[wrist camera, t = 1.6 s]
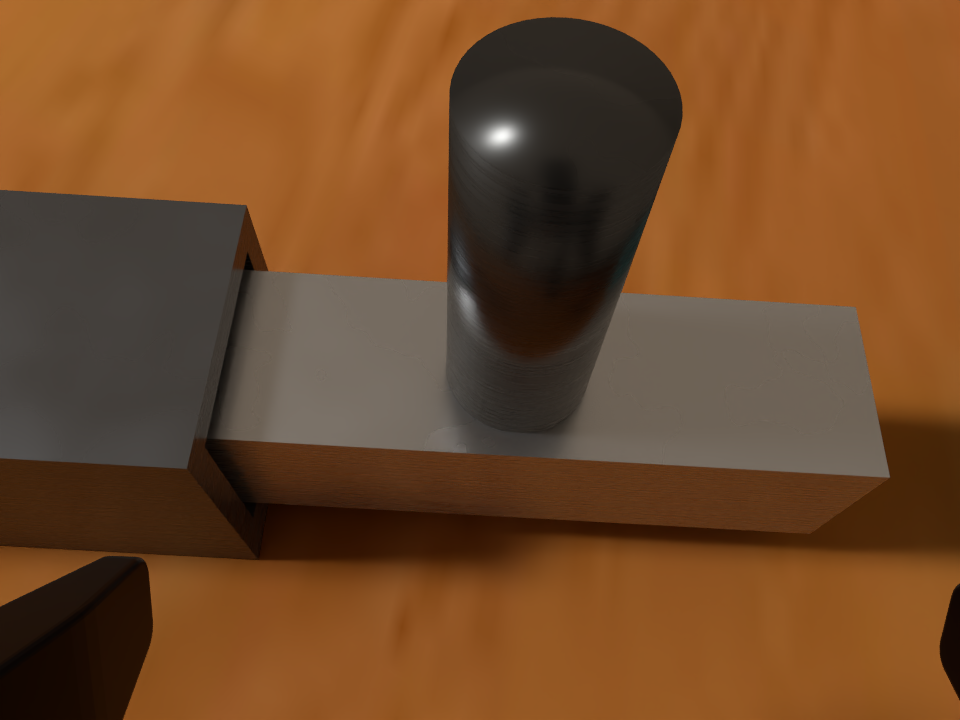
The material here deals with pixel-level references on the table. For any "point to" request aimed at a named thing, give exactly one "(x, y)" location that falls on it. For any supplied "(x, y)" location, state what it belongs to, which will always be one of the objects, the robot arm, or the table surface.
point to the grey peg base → (547, 337)
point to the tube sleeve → (118, 373)
